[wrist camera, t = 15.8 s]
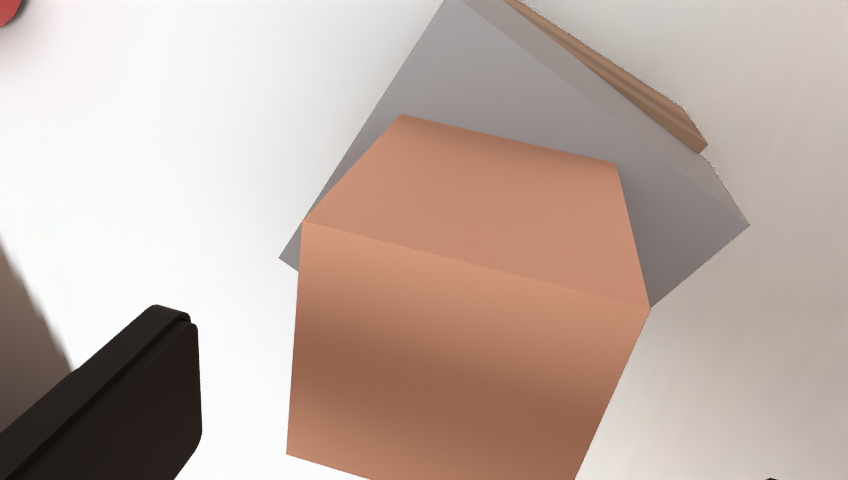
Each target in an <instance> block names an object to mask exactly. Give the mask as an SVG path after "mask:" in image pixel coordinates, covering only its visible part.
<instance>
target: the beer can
mask: <svg viewBox="0 0 848 480" xmlns="http://www.w3.org/2000/svg"><path fill="white" fill-rule="evenodd" d="M21 1H22V0H0V27H1V26H3V25H4V24H5V23H7V22H8V21H9V20H11V19H12V18H13V17H14V15H15V13H16V11H17V9H18V7H19V5H20V3H21Z"/></svg>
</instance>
